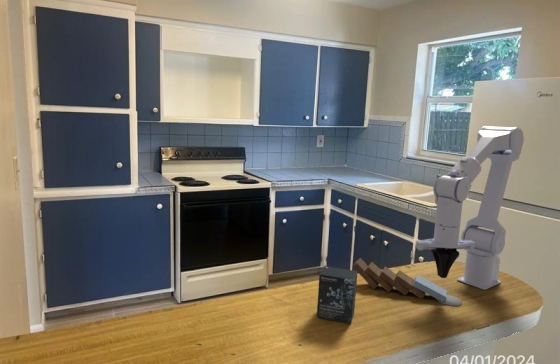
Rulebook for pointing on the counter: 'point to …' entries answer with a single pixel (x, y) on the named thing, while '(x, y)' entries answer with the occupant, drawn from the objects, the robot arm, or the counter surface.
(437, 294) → the domino head
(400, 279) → the domino
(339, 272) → the box
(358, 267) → the domino
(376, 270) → the domino
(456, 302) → the disc
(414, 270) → the counter surface
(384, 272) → the domino
